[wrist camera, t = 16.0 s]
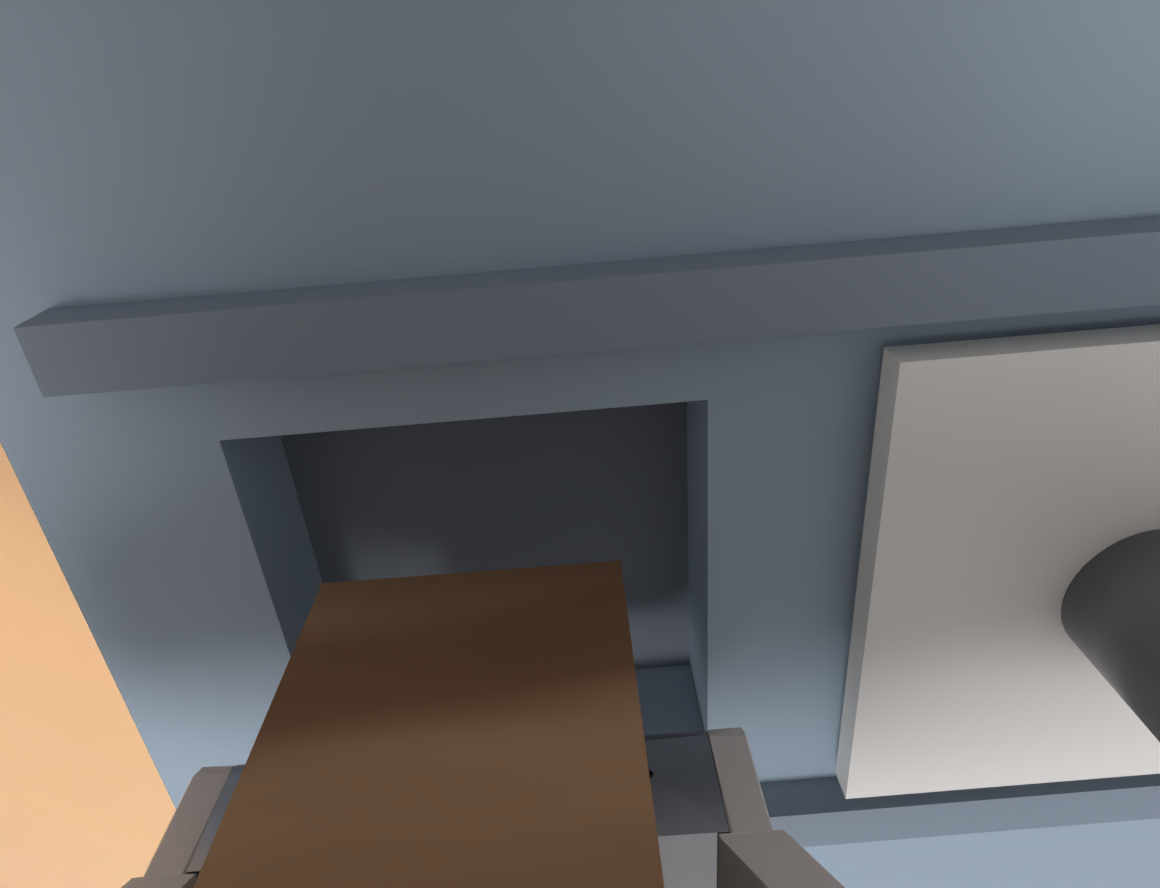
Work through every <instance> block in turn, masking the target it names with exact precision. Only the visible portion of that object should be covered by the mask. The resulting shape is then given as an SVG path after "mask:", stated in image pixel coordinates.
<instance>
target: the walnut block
mask: <svg viewBox="0 0 1160 888" xmlns="http://www.w3.org/2000/svg"><path fill="white" fill-rule="evenodd" d="M193 888H664V880H663V873H662V866H661V858H660V851H659V843H658V836H657V828H656V821H655V813H654V806H653V799H652V791H651V784H650V776H649V769H648V761H647V754H646V746H645V739H644V732H643V724H642V717H641V709H640V702H639V694H638V687H637V679H636V672H635V665H634V657H633V650H632V642H631V635H630V627H629V620H628V613H627V605H626V598H625V590H624V583H623V575H622V568H621V560H620V561H607V562H594V563H581V564H567V565H554V566H541V567H528V568H514V569H501V570H488V571H475V572H462V573H448V574H435V575H422V576H409V577H396V578H382V579H369V580H356V581H343V582H329V583H322V584H321V586H320V588H319V591H318V593H317V596H316V598H315V600H314V603H313V605H312V607H311V610H310V612H309V615H308V617H307V619H306V622H305V624H304V626H303V629H302V631H301V633H300V636H299V638H298V641H297V643H296V645H295V648H294V650H293V652H292V655H291V657H290V660H289V662H288V664H287V667H286V669H285V671H284V674H283V676H282V679H281V681H280V683H279V686H278V688H277V690H276V693H275V695H274V698H273V700H272V702H271V705H270V707H269V709H268V712H267V714H266V716H265V719H264V721H263V724H262V726H261V728H260V731H259V733H258V735H257V738H256V740H255V743H254V745H253V747H252V750H251V752H250V754H249V757H248V759H247V762H246V764H245V766H244V769H243V771H242V773H241V776H240V778H239V781H238V783H237V785H236V788H235V790H234V792H233V795H232V797H231V799H230V802H229V804H228V807H227V809H226V811H225V814H224V816H223V818H222V821H221V823H220V826H219V828H218V830H217V833H216V835H215V837H214V840H213V842H212V845H211V847H210V849H209V852H208V854H207V856H206V859H205V861H204V864H203V866H202V868H201V871H200V873H199V875H198V878H197V880H196V882H195V885H194V887H193Z"/></svg>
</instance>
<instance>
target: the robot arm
mask: <svg viewBox="0 0 1160 888" xmlns="http://www.w3.org/2000/svg"><path fill="white" fill-rule="evenodd" d="M644 739H645V746H646V754H647V761H648V769H649V776H650V784H651V791H652V799H653V806H654V813H655V821H656V828H657V836H658V843H659V851H660V858H661V866H662V873H663V880H664V888H845V887H844V886H843V885H842V884H841V883H840V882H839V881H838V880H837V879H835V878H834V877H833V876H832V875H831V874H830V873H829V872H828V871H827V870H826V869H825V868H824V867H823V866H822V865H821V864H820V863H819V862H818V861H817V860H815V859H814V858H813V857H812V856H811V855H810V854H809V853H808V852H807V851H806V850H805V849H804V848H803V847H802V846H801V845H800V844H799V843H798V842H797V841H795V840H794V839H793V838H792V837H791V836H790V835H789V834H788V833H787V832H786V831H785V830H773V828H772V824H771V821H770V817H769V814H768V810H767V807H766V803H765V800H764V796H763V793H762V789H761V786H760V782H759V779H758V775H757V771H756V768H755V764H754V761H753V757H752V754H751V750H750V747H749V743H748V740H747V736H746V733H745V732H744V730H743V729H742V728H741V727H738V728H725V729H712V730H706V731H705V730H694V731H683V732H672V733H660V734H649V735H644ZM244 766H245V764H242V765H230V766H213V767H202V768H201V769H200V770H199V771H198V772H197V773H196V774H195V775H194V776H193V777H192V779H191V781H190V783H189V785H188V787H187V789H186V791H185V793H184V795H183V797H182V799H181V801H180V803H179V805H178V807H177V809H176V811H175V813H174V815H173V817H172V819H171V821H170V824H169V826H168V828H167V830H166V832H165V834H164V836H163V838H162V840H161V842H160V844H159V846H158V848H157V850H156V852H155V854H154V856H153V858H152V860H151V862H150V864H149V866H148V868H147V870H146V872H145V874H144V876H143V877H138V878H132V879H131V880H129V881H128V882H127V883H126V884H125V885H124V886H123V887H121V888H193V887H194V885H195V882H196V880H197V878H198V875H199V873H200V871H201V868H202V866H203V864H204V861H205V859H206V856H207V854H208V852H209V849H210V847H211V845H212V842H213V840H214V837H215V835H216V833H217V830H218V828H219V826H220V823H221V821H222V818H223V816H224V814H225V811H226V809H227V807H228V804H229V802H230V799H231V797H232V795H233V792H234V790H235V788H236V785H237V783H238V781H239V778H240V776H241V773H242V771H243V769H244Z"/></svg>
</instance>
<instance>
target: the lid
mask: <svg viewBox="0 0 1160 888" xmlns="http://www.w3.org/2000/svg"><path fill="white" fill-rule="evenodd" d="M835 773H836V776H837V778H838V781H839V783H840V786H841V788H842V791H843V794H844V796H845V799H852V798H864V797H877V796H889V795H901V794H913V793H926V792H938V791H950V790H963V789H975V788H987V787H1000V786H1012V785H1024V784H1037V783H1049V782H1061V781H1073V780H1086V779H1098V778H1110V777H1123V776H1135V775H1147V774H1160V324H1155V325H1143V326H1131V327H1119V328H1107V329H1095V330H1083V331H1071V332H1059V333H1047V334H1035V335H1023V336H1011V337H999V338H987V339H975V340H963V341H951V342H939V343H927V344H915V345H903V346H891V347H884V350H883V359H882V368H881V376H880V385H879V394H878V403H877V412H876V420H875V429H874V438H873V447H872V456H871V464H870V473H869V482H868V491H867V500H866V508H865V517H864V526H863V535H862V544H861V552H860V561H859V570H858V579H857V587H856V596H855V605H854V614H853V623H852V631H851V640H850V649H849V658H848V667H847V675H846V684H845V693H844V702H843V711H842V719H841V728H840V737H839V746H838V755H837V763H836V772H835Z"/></svg>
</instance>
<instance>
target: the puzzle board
mask: <svg viewBox="0 0 1160 888" xmlns="http://www.w3.org/2000/svg"><path fill="white" fill-rule="evenodd" d="M1155 324H1160V0H0V442H1V444H2V446H3V449H4V451H5V453H6V455H7V457H8V459H9V461H10V463H11V465H12V467H13V469H14V472H15V474H16V476H17V478H18V480H19V482H20V484H21V486H22V488H23V490H24V492H25V494H26V497H27V499H28V501H29V503H30V505H31V507H32V509H33V511H34V513H35V515H36V517H37V520H38V522H39V524H40V526H41V528H42V530H43V532H44V534H45V536H46V538H47V540H48V543H49V545H50V547H51V549H52V551H53V553H54V555H55V557H56V559H57V561H58V563H59V566H60V568H61V570H62V572H63V574H64V576H65V578H66V580H67V582H68V584H69V586H70V589H71V591H72V593H73V595H74V597H75V599H76V601H77V603H78V605H79V607H80V609H81V612H82V614H83V616H84V618H85V620H86V622H87V624H88V626H89V628H90V630H91V632H92V635H93V637H94V639H95V641H96V643H97V645H98V647H99V649H100V651H101V653H102V655H103V657H104V660H105V662H106V664H107V666H108V668H109V670H110V672H111V674H112V676H113V678H114V680H115V683H116V685H117V687H118V689H119V691H120V693H121V695H122V697H123V699H124V701H125V703H126V706H127V708H128V710H129V712H130V714H131V716H132V718H133V720H134V722H135V724H136V726H137V729H138V731H139V733H140V735H141V737H142V739H143V741H144V743H145V745H146V747H147V749H148V752H149V754H150V756H151V758H152V760H153V762H154V764H155V766H156V768H157V770H158V772H159V775H160V777H161V779H162V781H163V783H164V785H165V787H166V789H167V791H168V793H169V795H170V797H171V800H172V802H173V804H174V806H175V808H176V809H177V807H178V805H179V803H180V801H181V799H182V797H183V795H184V793H185V791H186V789H187V787H188V785H189V783H190V781H191V779H192V777H193V776H194V775H195V774H196V773H197V772H198V771H199V770H200V769H201V768H202V767H213V766H230V765H242V764H246V762H247V759H248V757H249V754H250V752H251V750H252V747H253V745H254V743H255V740H256V738H257V735H258V733H259V731H260V728H261V726H262V724H263V721H264V719H265V716H266V714H267V712H268V709H269V707H270V705H271V702H272V700H273V698H274V695H275V693H276V690H277V688H278V686H279V683H280V681H281V679H282V676H283V674H284V671H285V669H286V667H287V664H288V662H289V660H290V657H291V655H292V652H293V650H294V648H295V645H296V643H297V641H298V638H299V636H300V633H301V631H302V629H303V626H304V624H305V622H306V619H307V617H308V615H309V612H310V610H311V607H312V605H313V603H314V600H315V598H316V596H317V593H318V591H319V588H320V586H321V584H322V583H329V582H343V581H356V580H369V579H382V578H396V577H409V576H422V575H435V574H448V573H462V572H475V571H488V570H501V569H514V568H528V567H541V566H554V565H567V564H581V563H594V562H607V561H620V560H621V568H622V575H623V583H624V590H625V598H626V605H627V613H628V620H629V627H630V635H631V642H632V650H633V657H634V665H635V672H636V679H637V687H638V694H639V702H640V709H641V717H642V724H643V732H644V735H649V734H660V733H672V732H683V731H694V730H705V731H706V730H712V729H725V728H738V727H741V728H742V729H743V730H744V732H745V733H746V736H747V740H748V743H749V747H750V750H751V754H752V757H753V761H754V764H755V768H756V771H757V775H758V779H759V782H760V786H761V789H762V793H763V796H764V800H765V803H766V807H767V810H768V814H769V817H770V821H771V824H772V828H773V830H785V831H786V832H787V833H788V834H789V835H790V836H791V837H792V838H793V839H794V840H795V841H797V842H798V843H799V844H800V845H801V846H802V847H803V848H804V849H805V850H806V851H807V852H808V853H809V854H810V855H811V856H812V857H813V858H814V859H815V860H817V861H818V862H819V863H820V864H821V865H822V866H823V867H824V868H825V869H826V870H827V871H828V872H829V873H830V874H831V875H832V876H833V877H834V878H835V879H837V880H838V881H839V882H840V883H841V884H842V885H843V886H844V887H845V888H1160V774H1147V775H1135V776H1123V777H1110V778H1098V779H1086V780H1073V781H1061V782H1049V783H1037V784H1024V785H1012V786H1000V787H987V788H975V789H963V790H950V791H938V792H926V793H913V794H901V795H889V796H877V797H864V798H852V799H845V796H844V794H843V791H842V788H841V786H840V783H839V781H838V778H837V776H836V773H835V772H836V763H837V755H838V746H839V737H840V728H841V719H842V711H843V702H844V693H845V684H846V675H847V667H848V658H849V649H850V640H851V631H852V623H853V614H854V605H855V596H856V587H857V579H858V570H859V561H860V552H861V544H862V535H863V526H864V517H865V508H866V500H867V491H868V482H869V473H870V464H871V456H872V447H873V438H874V429H875V420H876V412H877V403H878V394H879V385H880V376H881V368H882V359H883V350H884V347H891V346H903V345H915V344H927V343H939V342H951V341H963V340H975V339H987V338H999V337H1011V336H1023V335H1035V334H1047V333H1059V332H1071V331H1083V330H1095V329H1107V328H1119V327H1131V326H1143V325H1155Z"/></svg>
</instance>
